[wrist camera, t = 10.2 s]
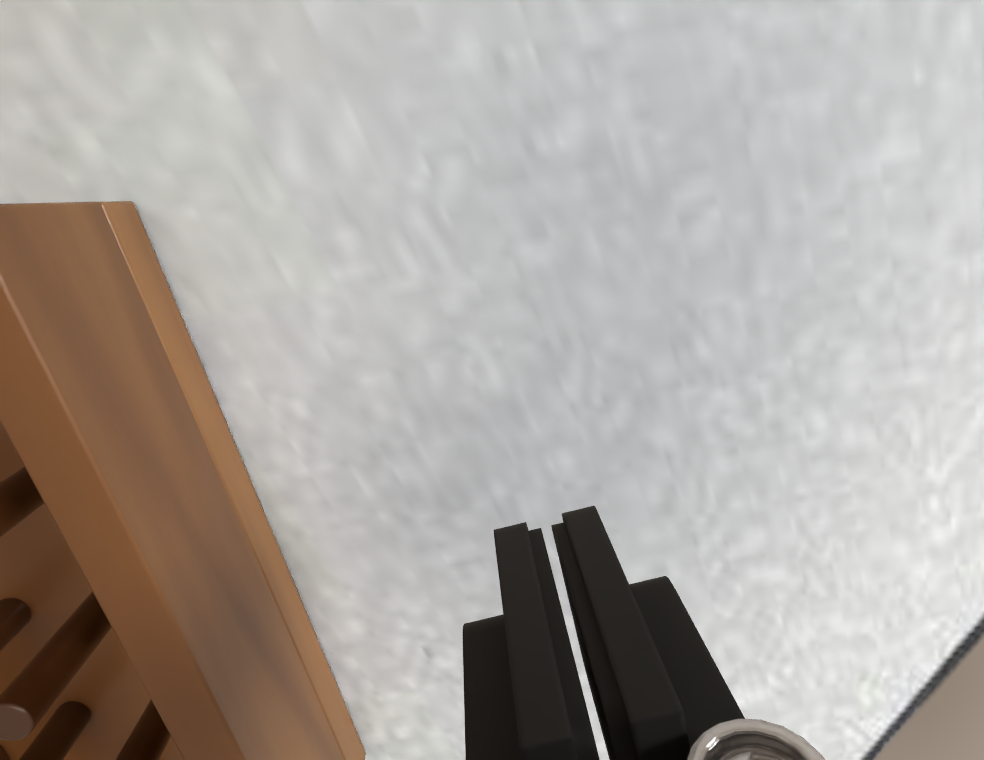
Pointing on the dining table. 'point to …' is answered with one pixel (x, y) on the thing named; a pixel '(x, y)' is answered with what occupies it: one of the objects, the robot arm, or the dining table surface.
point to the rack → (134, 524)
